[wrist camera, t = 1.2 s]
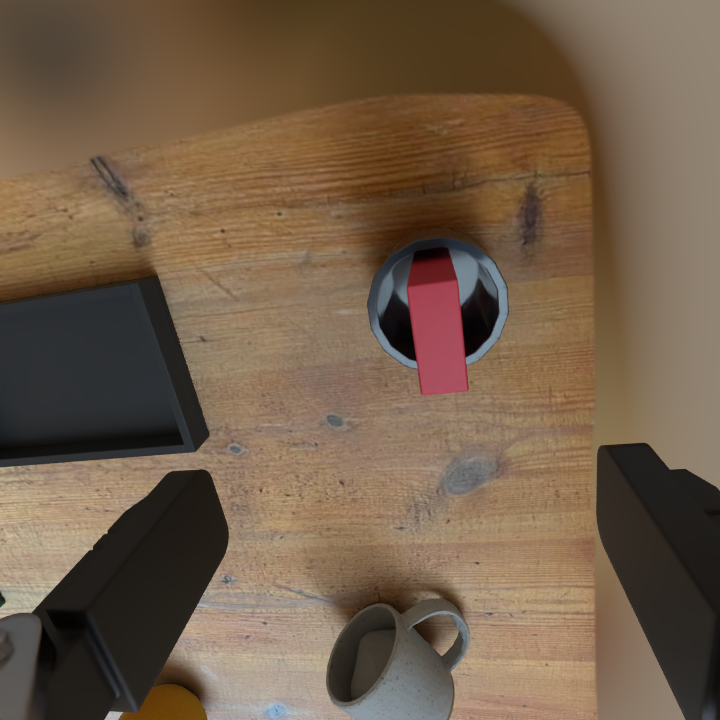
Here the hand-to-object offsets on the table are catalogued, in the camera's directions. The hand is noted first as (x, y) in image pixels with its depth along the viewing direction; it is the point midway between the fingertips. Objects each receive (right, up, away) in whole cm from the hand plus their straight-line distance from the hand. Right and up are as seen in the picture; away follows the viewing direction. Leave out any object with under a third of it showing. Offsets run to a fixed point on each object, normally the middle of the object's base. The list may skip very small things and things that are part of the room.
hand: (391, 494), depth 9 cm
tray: (-23, +2, +25) cm, 34 cm away
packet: (+4, +7, +18) cm, 20 cm away
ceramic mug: (+3, -20, +30) cm, 36 cm away
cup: (+4, +7, +19) cm, 20 cm away
